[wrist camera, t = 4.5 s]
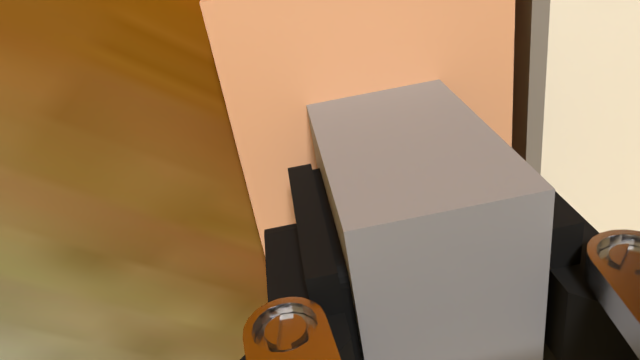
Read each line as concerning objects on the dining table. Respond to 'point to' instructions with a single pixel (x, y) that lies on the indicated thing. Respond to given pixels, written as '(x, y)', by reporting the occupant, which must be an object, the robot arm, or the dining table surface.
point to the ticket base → (581, 103)
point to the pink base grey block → (398, 162)
